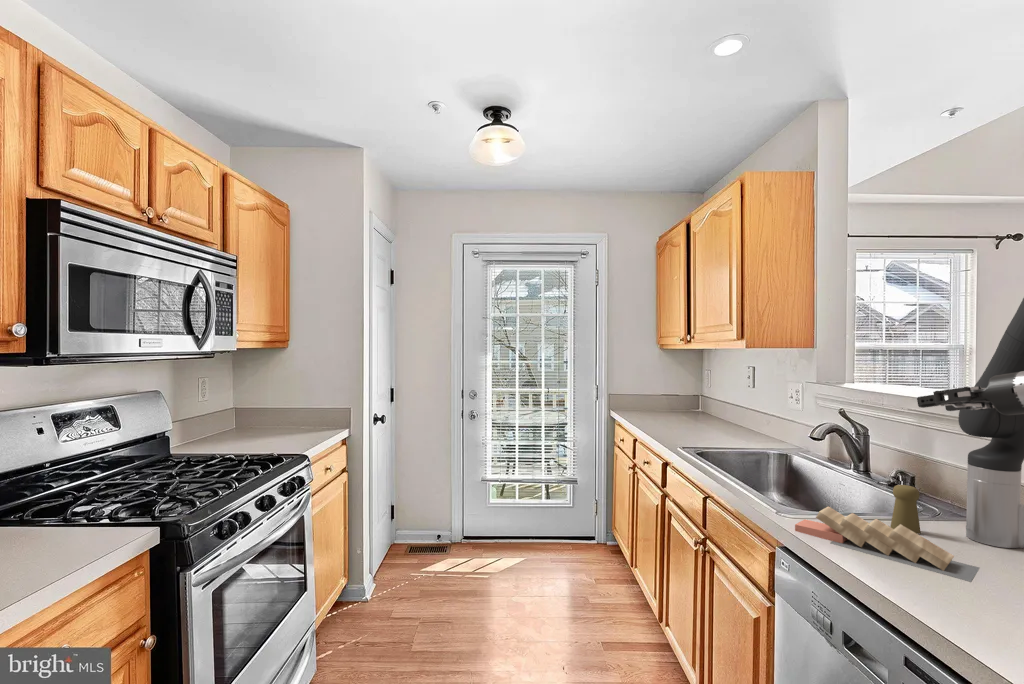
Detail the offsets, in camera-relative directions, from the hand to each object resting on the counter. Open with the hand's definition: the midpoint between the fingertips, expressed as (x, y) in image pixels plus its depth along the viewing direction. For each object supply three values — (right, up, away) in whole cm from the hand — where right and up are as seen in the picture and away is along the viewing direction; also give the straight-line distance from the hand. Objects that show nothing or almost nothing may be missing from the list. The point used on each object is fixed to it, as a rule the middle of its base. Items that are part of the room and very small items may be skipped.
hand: (932, 404), depth 108 cm
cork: (+9, -33, +19) cm, 39 cm away
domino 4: (-2, -32, +1) cm, 32 cm away
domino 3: (-5, -32, +4) cm, 32 cm away
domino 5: (+1, -32, -3) cm, 32 cm away
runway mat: (-4, -33, +3) cm, 33 cm away
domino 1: (-11, -31, +11) cm, 35 cm away
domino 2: (-8, -31, +8) cm, 33 cm away
